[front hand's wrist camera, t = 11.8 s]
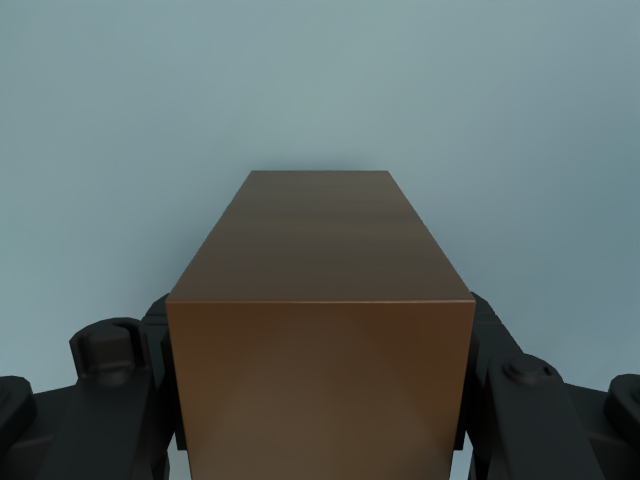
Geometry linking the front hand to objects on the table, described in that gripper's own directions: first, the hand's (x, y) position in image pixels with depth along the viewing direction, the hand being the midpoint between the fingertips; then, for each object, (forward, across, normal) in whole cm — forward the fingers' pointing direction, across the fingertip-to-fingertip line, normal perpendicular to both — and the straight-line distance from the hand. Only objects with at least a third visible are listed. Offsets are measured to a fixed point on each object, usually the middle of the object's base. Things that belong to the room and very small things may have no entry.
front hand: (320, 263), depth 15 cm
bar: (+1, 0, -10) cm, 10 cm away
